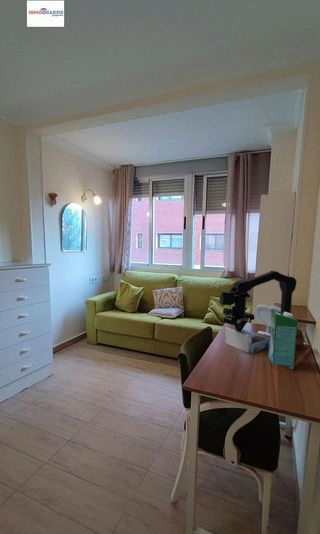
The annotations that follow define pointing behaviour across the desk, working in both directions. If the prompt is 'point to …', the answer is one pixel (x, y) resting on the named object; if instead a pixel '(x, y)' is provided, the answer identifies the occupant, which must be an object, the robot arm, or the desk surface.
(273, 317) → the milk carton
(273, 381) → the desk surface
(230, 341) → the tall thin white panel
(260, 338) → the brown cube
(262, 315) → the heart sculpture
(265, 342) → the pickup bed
